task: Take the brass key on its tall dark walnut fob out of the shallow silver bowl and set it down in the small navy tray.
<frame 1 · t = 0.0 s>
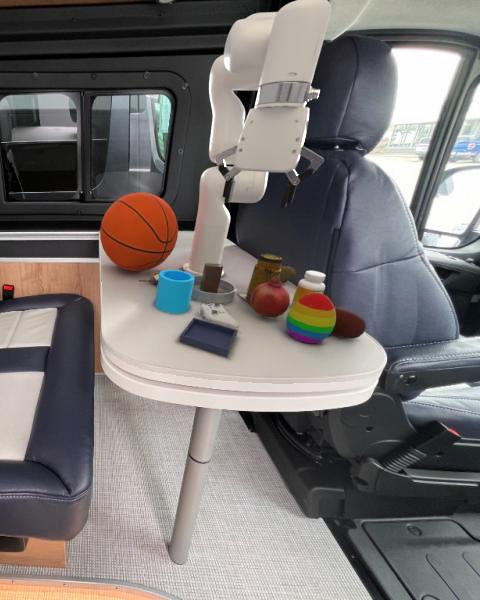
hand: (254, 204, 61), 26 cm above the table, tool pointing down, fingers open, 9 cm apart
fruit: (264, 317, 77), on the table
potato: (347, 308, 68), point 6 cm above the table
supplement bottle: (302, 310, 80), on the table
key: (216, 279, 85), in the bowl
gaming controller: (215, 322, 73), on the table, touching tray
computer mouse: (163, 284, 93), on the table
basket ball: (126, 265, 107), on the table
mug: (172, 303, 82), on the table
bowl: (207, 294, 87), on the table
hand grenade: (292, 271, 97), point 3 cm above the table
tray: (208, 339, 66), on the table
decorative egg: (303, 337, 68), on the table
condiment: (259, 302, 84), on the table
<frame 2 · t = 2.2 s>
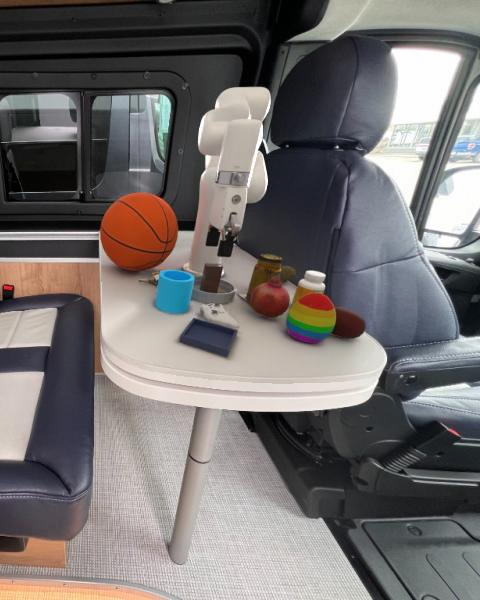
hand: (217, 251, 82), 12 cm above the table, tool pointing down, fingers open, 9 cm apart
nothing on the table moved.
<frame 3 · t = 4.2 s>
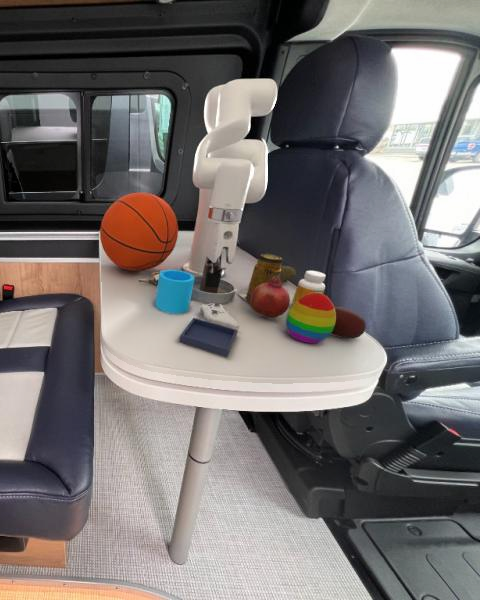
hand: (209, 284, 86), 3 cm above the table, tool pointing down, fingers closed on key, 2 cm apart
key: (216, 279, 85), in the bowl, touching gripper
everything else where it was.
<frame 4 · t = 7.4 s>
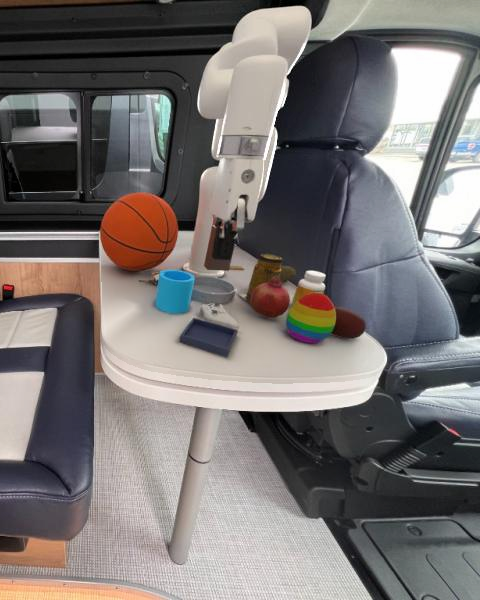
hand: (218, 255, 61), 17 cm above the table, tool pointing down, fingers closed on key, 2 cm apart
key: (228, 248, 60), point 19 cm above the table, touching gripper
everything else where it was.
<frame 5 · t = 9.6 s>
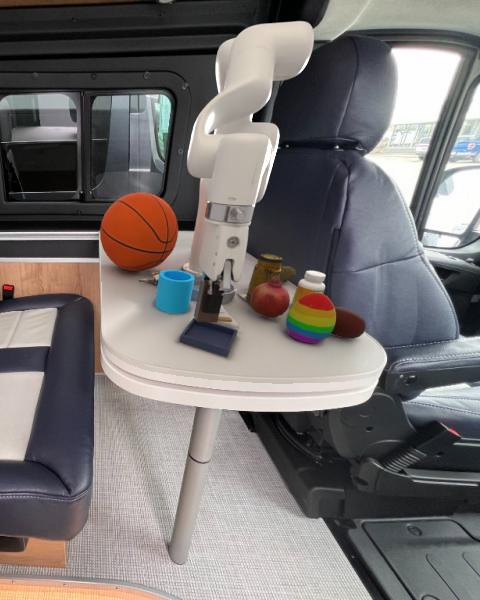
hand: (207, 308, 63), 7 cm above the table, tool pointing down, fingers closed on key, 2 cm apart
key: (216, 301, 62), point 9 cm above the table, touching gripper
everything else where it was.
when the fingers open (3 cm above the table, at t = 10.9 s): key stays where it is, resting on tray.
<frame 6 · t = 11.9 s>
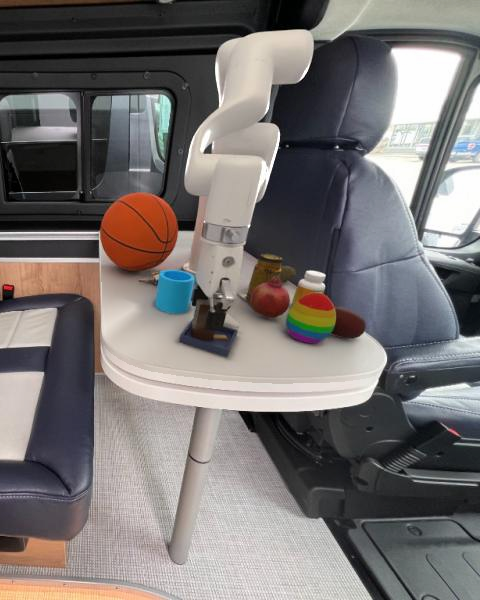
hand: (205, 317, 64), 5 cm above the table, tool pointing down, fingers open, 9 cm apart
key: (212, 320, 64), in the tray
everything else where it was.
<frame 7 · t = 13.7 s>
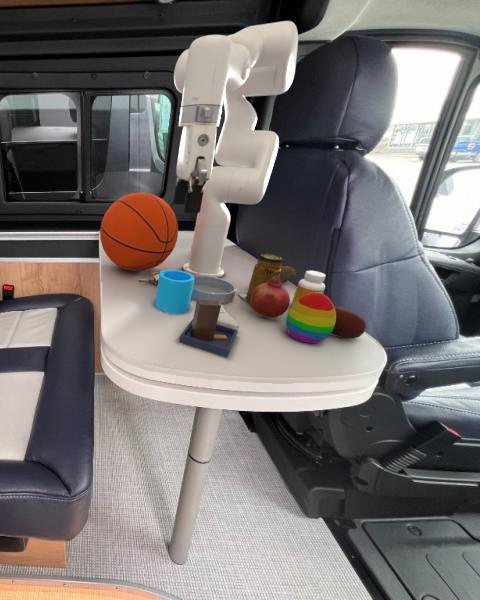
hand: (185, 208, 70), 24 cm above the table, tool pointing down, fingers open, 9 cm apart
nothing on the table moved.
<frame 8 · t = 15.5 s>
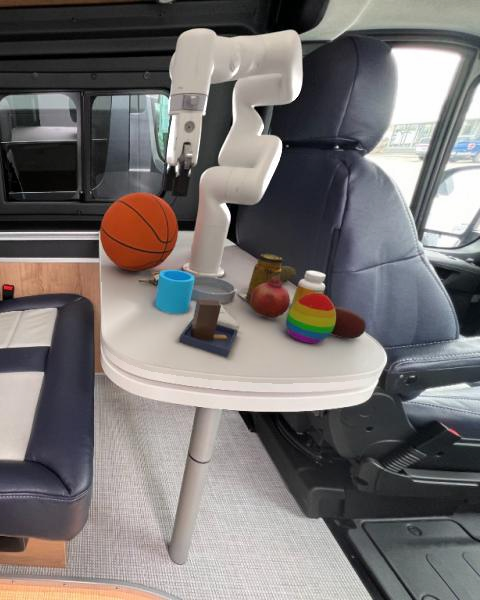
hand: (174, 193, 74), 26 cm above the table, tool pointing down, fingers open, 9 cm apart
nothing on the table moved.
at the end: key 0.4 cm from the target spot in the tray, point 4.5 cm above the tray's base; key touching tray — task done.
